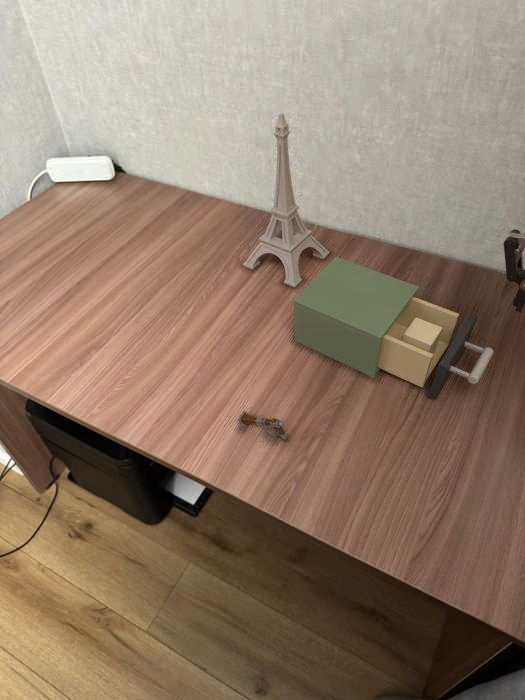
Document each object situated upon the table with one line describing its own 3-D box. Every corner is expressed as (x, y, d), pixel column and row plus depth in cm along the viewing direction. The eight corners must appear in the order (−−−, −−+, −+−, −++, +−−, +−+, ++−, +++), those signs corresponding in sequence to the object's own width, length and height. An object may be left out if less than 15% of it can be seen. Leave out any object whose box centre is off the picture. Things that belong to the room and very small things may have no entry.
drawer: (491, 359, 80) (506, 326, 74) (463, 412, 73) (476, 380, 68) (386, 317, 88) (392, 284, 82) (352, 361, 82) (356, 328, 76)
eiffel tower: (242, 265, 103) (225, 121, 80) (278, 234, 109) (272, 93, 87) (294, 287, 97) (291, 138, 74) (329, 252, 103) (336, 107, 81)
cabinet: (409, 328, 87) (419, 286, 80) (374, 378, 80) (380, 337, 73) (333, 297, 94) (335, 256, 87) (294, 341, 87) (293, 300, 80)
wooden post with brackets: (289, 445, 72) (277, 424, 69) (249, 437, 77) (236, 418, 74) (295, 435, 73) (283, 415, 70) (255, 428, 78) (242, 409, 75)
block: (435, 350, 81) (442, 327, 76) (424, 368, 78) (431, 345, 74) (410, 340, 82) (415, 317, 78) (398, 356, 80) (403, 334, 76)
